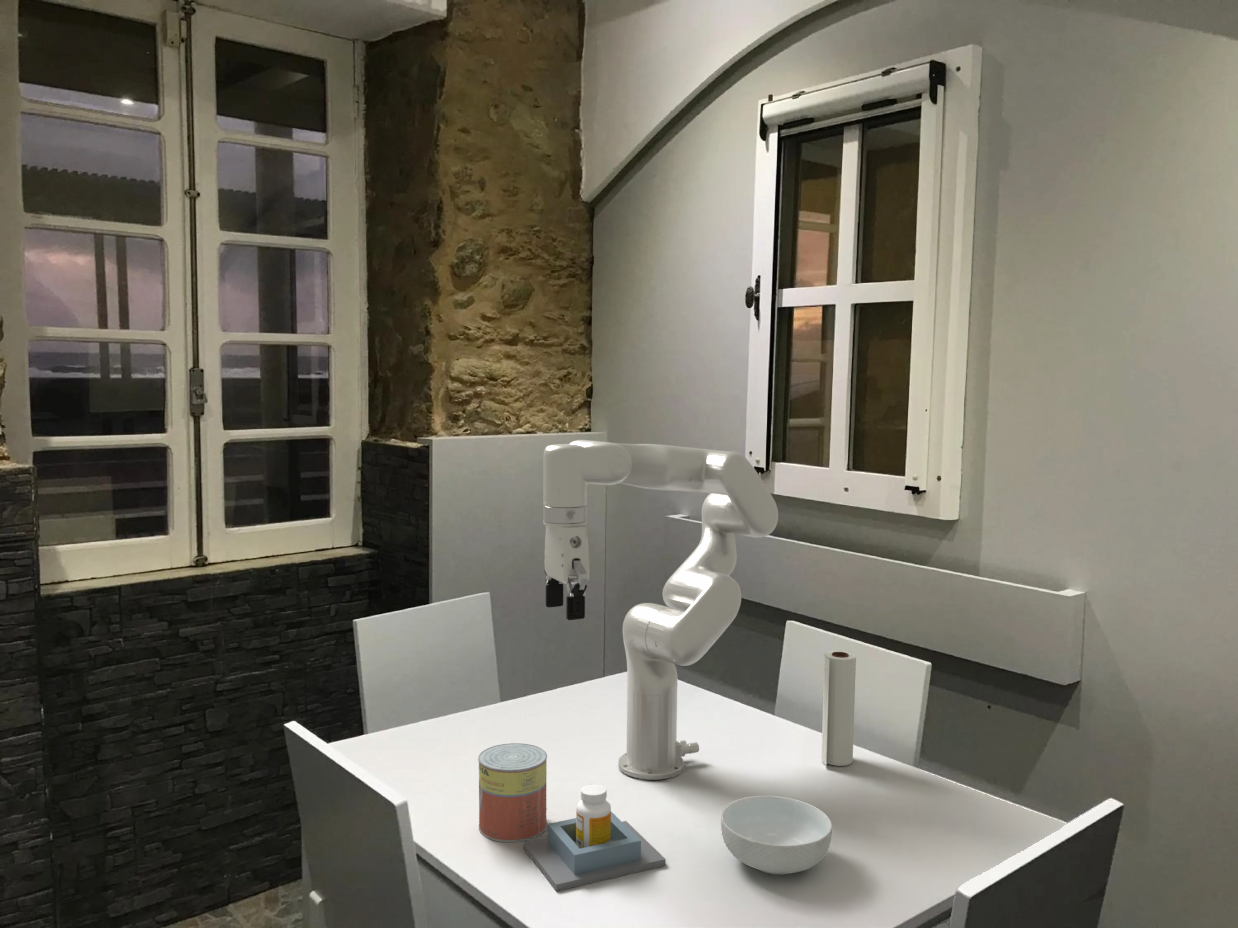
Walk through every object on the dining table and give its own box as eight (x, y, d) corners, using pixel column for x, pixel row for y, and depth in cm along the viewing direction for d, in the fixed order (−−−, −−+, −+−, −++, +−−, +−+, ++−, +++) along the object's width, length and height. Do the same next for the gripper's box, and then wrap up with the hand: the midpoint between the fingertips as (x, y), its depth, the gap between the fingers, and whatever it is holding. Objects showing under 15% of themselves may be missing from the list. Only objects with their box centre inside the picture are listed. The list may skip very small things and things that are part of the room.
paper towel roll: (842, 753, 193) (845, 648, 191) (858, 764, 187) (862, 656, 185) (810, 757, 191) (813, 651, 189) (826, 769, 185) (829, 660, 183)
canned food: (484, 809, 167) (484, 742, 165) (550, 811, 166) (550, 743, 165) (473, 841, 155) (472, 769, 154) (543, 842, 155) (543, 770, 154)
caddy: (625, 826, 161) (626, 803, 160) (665, 865, 148) (665, 840, 148) (523, 848, 153) (523, 823, 153) (556, 890, 141) (556, 864, 140)
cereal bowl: (756, 900, 139) (757, 853, 138) (701, 847, 154) (701, 805, 153) (853, 876, 145) (855, 831, 145) (791, 828, 161) (792, 787, 160)
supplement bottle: (616, 844, 152) (616, 785, 151) (602, 860, 147) (602, 799, 146) (585, 838, 154) (585, 779, 153) (570, 853, 150) (570, 793, 149)
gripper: (605, 521, 161) (604, 621, 163) (566, 508, 177) (565, 600, 178) (563, 524, 158) (563, 626, 160) (527, 510, 174) (527, 603, 175)
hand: (564, 612), depth 169 cm, fingers open, 9 cm apart
